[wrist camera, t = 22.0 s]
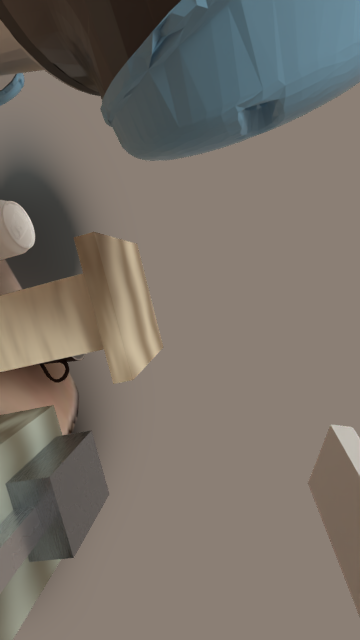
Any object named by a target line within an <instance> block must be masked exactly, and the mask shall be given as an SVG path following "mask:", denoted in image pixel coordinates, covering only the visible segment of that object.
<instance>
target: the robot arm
mask: <svg viewBox="0 0 360 640" xmlns="http://www.w3.org/2000/svg"><path fill="white" fill-rule="evenodd" d="M41 70H45V71H46V72H48V73H49V74H50V75H52V76H53V77H55V78H56V79H58V80H59V81H61V82H62V83H64V84H67V85H68V86H70V87H72V88H74V89H76V90H79V91H82V92H85V93H88V94H92V95H97V96H101V99H102V106H101V112H102V115H103V118H104V120H105V122H106V124H108V125H109V126H111V127H113V129H114V131H115V133H116V135H117V137H118V140H119V142H120V144H121V145H122V147H123V148H124V149H125V150H126V151H127V152H128V153H129V154H131V155H132V156H134V157H136V158H139V159H143V160H150V161H155V160H172V159H178V158H184V157H189V156H193V155H198V154H202V153H206V152H209V151H213V150H216V149H220V148H223V147H226V146H229V145H232V144H235V143H238V142H241V141H244V140H246V139H248V138H250V137H254V136H256V135H259V134H261V133H264V132H267V131H269V130H272V129H274V128H276V127H279V126H281V125H283V124H286V123H288V122H290V121H292V120H294V119H296V118H299V117H301V116H303V115H305V114H307V113H308V112H311V111H312V110H314V109H316V108H318V107H320V106H322V105H324V104H325V103H327V102H329V101H331V100H332V99H334V98H336V97H338V96H339V95H341V94H343V93H344V92H346V91H347V90H349V89H350V88H352V87H353V86H355V85H356V84H357V83H359V82H360V0H0V106H1V105H3V104H5V103H7V102H8V101H10V100H11V99H12V98H14V97H15V96H16V95H17V94H18V93H19V92H20V91H21V89H22V88H23V86H24V75H23V73H26V72H33V71H41ZM308 485H309V487H310V490H311V493H312V495H313V498H314V500H315V503H316V505H317V508H318V511H319V513H320V516H321V518H322V521H323V524H324V526H325V529H326V531H327V534H328V536H329V539H330V542H331V544H332V547H333V549H334V552H335V554H336V557H337V560H338V562H339V565H340V567H341V570H342V573H343V575H344V578H345V580H346V583H347V586H348V588H349V591H350V593H351V596H352V599H353V601H354V603H355V606H356V609H357V611H358V614H359V617H360V438H359V437H358V435H357V433H356V432H355V430H354V429H353V427H347V426H339V425H330V427H329V430H328V432H327V435H326V438H325V441H324V443H323V445H322V448H321V450H320V453H319V456H318V458H317V461H316V464H315V466H314V469H313V471H312V474H311V476H310V479H309V481H308Z"/></svg>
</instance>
